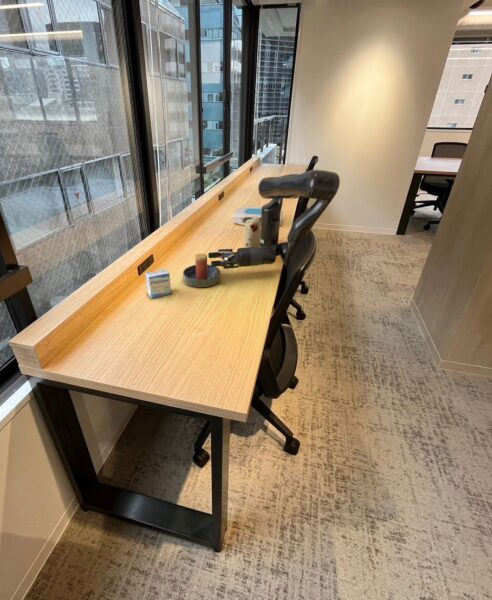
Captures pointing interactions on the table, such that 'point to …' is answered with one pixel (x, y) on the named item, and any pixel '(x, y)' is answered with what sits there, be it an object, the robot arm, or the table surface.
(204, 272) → the pill bottle
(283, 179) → the robot arm
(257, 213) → the document scanner
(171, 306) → the table surface
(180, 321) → the table surface
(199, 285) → the bowl
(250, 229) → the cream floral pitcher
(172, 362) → the table surface
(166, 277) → the medicine box
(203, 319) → the table surface
